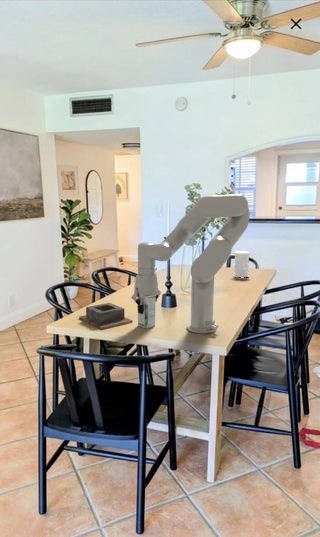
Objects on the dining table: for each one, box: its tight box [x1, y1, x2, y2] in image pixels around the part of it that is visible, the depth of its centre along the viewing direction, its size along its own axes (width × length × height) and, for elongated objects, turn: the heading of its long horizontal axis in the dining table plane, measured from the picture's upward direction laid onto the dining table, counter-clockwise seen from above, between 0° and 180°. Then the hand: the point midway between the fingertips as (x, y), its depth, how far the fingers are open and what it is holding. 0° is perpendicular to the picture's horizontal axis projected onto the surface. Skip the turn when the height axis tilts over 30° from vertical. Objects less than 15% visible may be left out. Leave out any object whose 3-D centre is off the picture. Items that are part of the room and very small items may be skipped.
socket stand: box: [78, 302, 133, 330], centre depth 178 cm, size 20×16×6 cm
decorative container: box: [232, 250, 251, 278], centre depth 279 cm, size 12×12×18 cm
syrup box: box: [137, 295, 156, 329], centre depth 170 cm, size 6×6×14 cm
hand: (146, 311), depth 170 cm, fingers closed on syrup box, 6 cm apart
